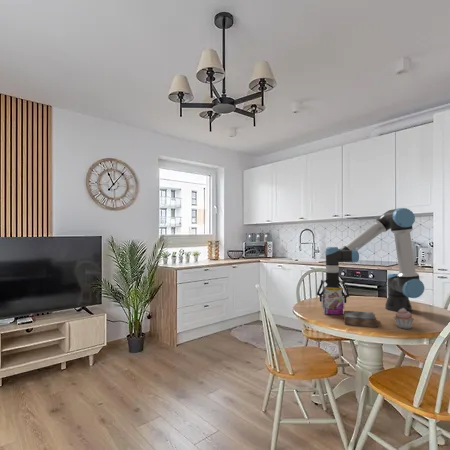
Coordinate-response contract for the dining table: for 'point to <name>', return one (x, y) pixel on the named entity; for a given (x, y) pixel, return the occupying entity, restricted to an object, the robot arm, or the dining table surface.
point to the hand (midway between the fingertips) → (333, 307)
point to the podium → (360, 318)
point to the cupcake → (403, 319)
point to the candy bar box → (332, 301)
